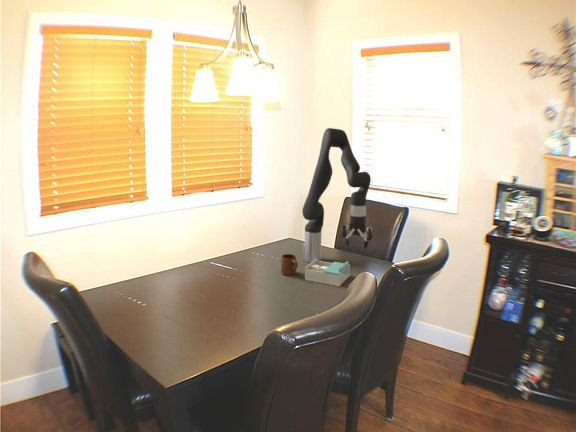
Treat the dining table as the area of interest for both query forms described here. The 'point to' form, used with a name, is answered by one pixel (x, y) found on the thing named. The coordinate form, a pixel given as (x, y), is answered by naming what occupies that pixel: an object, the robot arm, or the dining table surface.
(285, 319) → the dining table surface
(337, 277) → the grey housing
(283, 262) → the mug
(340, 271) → the teal lid
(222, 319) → the dining table surface
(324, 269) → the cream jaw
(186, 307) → the dining table surface
